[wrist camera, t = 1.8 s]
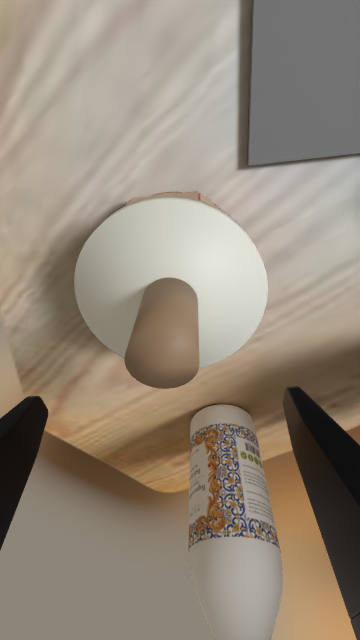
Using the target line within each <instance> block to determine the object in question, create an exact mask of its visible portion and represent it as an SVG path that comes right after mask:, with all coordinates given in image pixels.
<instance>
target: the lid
mask: <svg viewBox="0 0 360 640" xmlns="http://www.w3.org/2000/svg"><path fill="white" fill-rule="evenodd" d="M74 289H75V296H76V301H77V304H78V307H79V310H80V312H81V315H82V317H83V319H84V321H85V322H86V324H87V325H88V327H89V329H90V330H91V331H92V332H93V334H94V335H95V336H96V337H97V338H98V339H99V340H100V341H101V342H102V343H103V344H104V345H105V346H106V347H108V348H109V349H110V350H111V351H113V352H115V353H116V354H118V355H119V356H121V357H123V358H125V365H126V368H127V370H128V371H129V373H130V374H131V375H132V376H133V377H134V378H135V379H136V380H138V381H139V382H141V383H143V384H145V385H148V386H151V387H155V388H162V389H167V388H175V387H179V386H182V385H184V384H186V383H188V382H189V381H190V380H192V379H193V378H194V376H195V375H196V374H197V372H198V369H199V368H201V367H205V366H208V365H211V364H214V363H216V362H218V361H221V360H222V359H224V358H226V357H228V356H230V355H231V354H232V353H234V352H235V351H237V350H238V349H239V348H240V347H241V346H243V345H244V344H245V343H246V342H247V341H248V339H249V338H250V337H251V336H252V335H253V333H254V332H255V330H256V329H257V327H258V325H259V323H260V321H261V319H262V317H263V314H264V311H265V308H266V303H267V297H268V283H267V276H266V271H265V268H264V264H263V261H262V259H261V257H260V255H259V253H258V251H257V249H256V247H255V245H254V243H253V241H252V240H251V238H250V237H249V236H248V234H247V233H246V231H245V230H244V229H243V228H242V227H241V226H240V225H239V224H238V223H237V222H236V221H235V220H234V219H233V218H231V217H230V216H229V215H228V214H226V213H225V212H223V211H221V210H220V209H218V208H216V207H215V206H213V205H210V204H208V203H205V202H203V201H200V200H196V199H192V198H188V197H181V196H156V197H151V198H145V199H142V200H139V201H136V202H133V203H130V204H128V205H126V206H124V207H122V208H120V209H119V210H117V211H116V212H115V213H113V214H112V215H110V216H109V217H108V218H107V219H106V220H105V221H104V222H103V223H102V224H101V225H100V226H99V227H98V228H97V229H96V230H95V231H94V232H93V233H92V234H91V236H90V237H89V238H88V240H87V241H86V242H85V244H84V246H83V248H82V250H81V252H80V254H79V257H78V260H77V264H76V268H75V275H74Z"/></svg>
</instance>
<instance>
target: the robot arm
mask: <svg viewBox="0 0 360 640" xmlns="http://www.w3.org/2000/svg"><path fill="white" fill-rule="evenodd" d="M283 407H284V412H285V417H286V421H287V426H288V430H289V435H290V439H291V444H292V448H293V452H294V455H295V458H296V461H297V464H298V467H299V470H300V473H301V476H302V479H303V482H304V485H305V488H306V491H307V494H308V497H309V500H310V503H311V506H312V508H313V511H314V514H315V517H316V520H317V523H318V526H319V529H320V532H321V535H322V538H323V540H324V544H325V547H326V550H327V553H328V556H329V559H330V561H331V565H332V567H333V570H334V573H335V576H336V579H337V582H338V585H339V588H340V591H341V594H342V597H343V599H344V602H345V606H346V609H347V612H348V614H349V617H350V619H351V624H352V627H353V629H354V633H355V636H356V639H357V640H360V445H359V444H358V443H357V442H356V441H355V440H353V438H352V437H351V436H349V434H348V433H346V432H345V431H344V430H343V429H342V428H341V427H340V426H339V425H338V424H337V423H336V422H335V421H334V420H333V419H332V418H331V417H330V416H329V415H328V414H327V413H326V412H325V411H324V410H323V409H322V408H321V407H320V406H319V405H318V404H317V403H316V402H315V401H313V400H312V399H311V398H310V397H309V396H308V395H307V394H306V393H305V392H304V391H303V390H302V389H301V388H300V387H298V386H289V387H286V389H285V395H284V401H283ZM47 418H48V409H47V407H46V405H45V404H44V402H43V400H42V399H41V397H39V396H29V397H27V398H25V399H24V400H23V401H21V402H20V403H19V404H18V405H17V406H15V407H14V408H13V409H12V410H10V411H9V412H8V413H7V414H5V415H4V416H3V417H2V418H0V550H1V547H2V545H3V542H4V539H5V537H6V534H7V532H8V529H9V527H10V524H11V521H12V519H13V516H14V514H15V511H16V508H17V506H18V503H19V501H20V498H21V495H22V493H23V490H24V488H25V485H26V483H27V480H28V477H29V475H30V472H31V470H32V467H33V464H34V462H35V459H36V456H37V453H38V450H39V446H40V443H41V439H42V436H43V432H44V429H45V425H46V421H47Z"/></svg>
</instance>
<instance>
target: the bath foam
mask: <svg viewBox="0 0 360 640" xmlns="http://www.w3.org/2000/svg"><path fill="white" fill-rule="evenodd" d="M189 561H190V570H191V576H192V581H193V586H194V590H195V593H196V596H197V599H198V602H199V604H200V607H201V609H202V612H203V614H204V616H205V619H206V621H207V623H208V625H209V628H210V630H211V632H212V634H213V637H214V638H215V640H271V637H272V633H273V630H274V626H275V622H276V619H277V615H278V611H279V605H280V601H281V595H282V561H281V555H280V547H279V542H278V538H277V533H276V528H275V523H274V518H273V514H272V508H271V504H270V499H269V494H268V489H267V484H266V480H265V475H264V470H263V465H262V460H261V455H260V450H259V445H258V441H257V437H256V432H255V427H254V423H253V420H252V418H251V416H250V415H249V414H248V413H247V412H246V411H245V410H243V409H241V408H239V407H236V406H233V405H226V404H219V405H212V406H208V407H206V408H203V409H202V410H200V411H199V412H197V413H196V414H195V415H194V417H193V418H192V421H191V425H190V484H189Z"/></svg>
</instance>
